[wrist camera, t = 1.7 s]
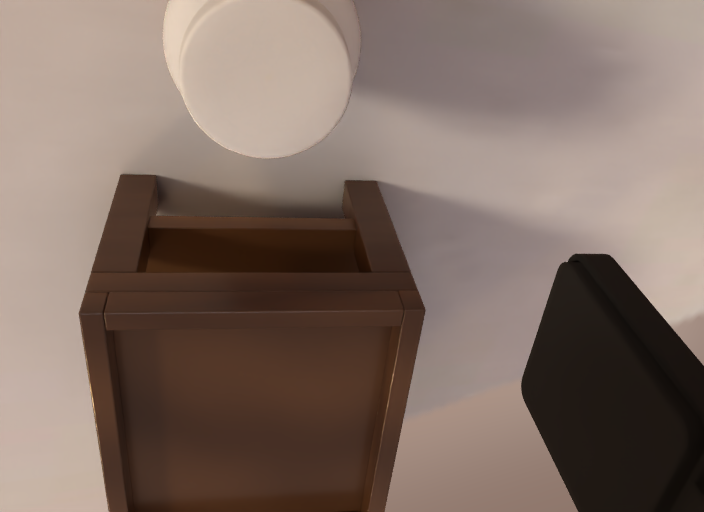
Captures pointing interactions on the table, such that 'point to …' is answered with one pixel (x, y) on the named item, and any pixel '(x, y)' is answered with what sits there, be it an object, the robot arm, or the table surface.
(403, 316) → the rack
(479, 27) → the table surface
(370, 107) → the table surface
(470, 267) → the table surface
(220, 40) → the pill bottle
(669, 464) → the robot arm
